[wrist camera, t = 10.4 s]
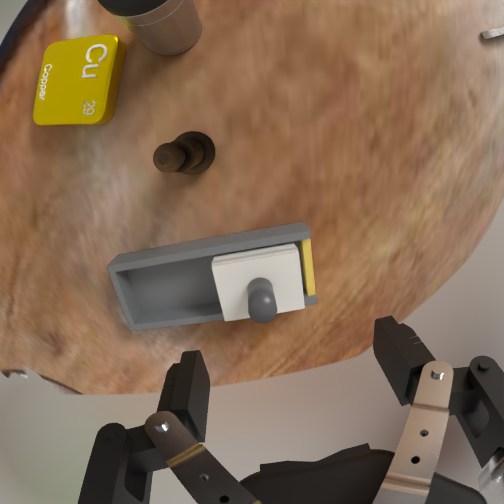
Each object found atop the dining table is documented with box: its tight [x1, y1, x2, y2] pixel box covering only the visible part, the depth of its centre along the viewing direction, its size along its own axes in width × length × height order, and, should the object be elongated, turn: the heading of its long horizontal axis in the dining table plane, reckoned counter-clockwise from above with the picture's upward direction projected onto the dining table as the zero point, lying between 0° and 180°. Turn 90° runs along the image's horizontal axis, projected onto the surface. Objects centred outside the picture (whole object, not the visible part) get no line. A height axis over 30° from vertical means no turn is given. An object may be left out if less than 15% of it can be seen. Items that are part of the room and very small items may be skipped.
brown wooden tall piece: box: [153, 131, 215, 174], centre depth 35 cm, size 7×6×18 cm
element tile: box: [33, 34, 126, 125], centre depth 36 cm, size 15×15×5 cm
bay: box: [107, 222, 317, 331], centre depth 48 cm, size 12×32×5 cm, turn 100°
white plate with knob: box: [211, 241, 305, 323], centre depth 43 cm, size 9×12×13 cm
